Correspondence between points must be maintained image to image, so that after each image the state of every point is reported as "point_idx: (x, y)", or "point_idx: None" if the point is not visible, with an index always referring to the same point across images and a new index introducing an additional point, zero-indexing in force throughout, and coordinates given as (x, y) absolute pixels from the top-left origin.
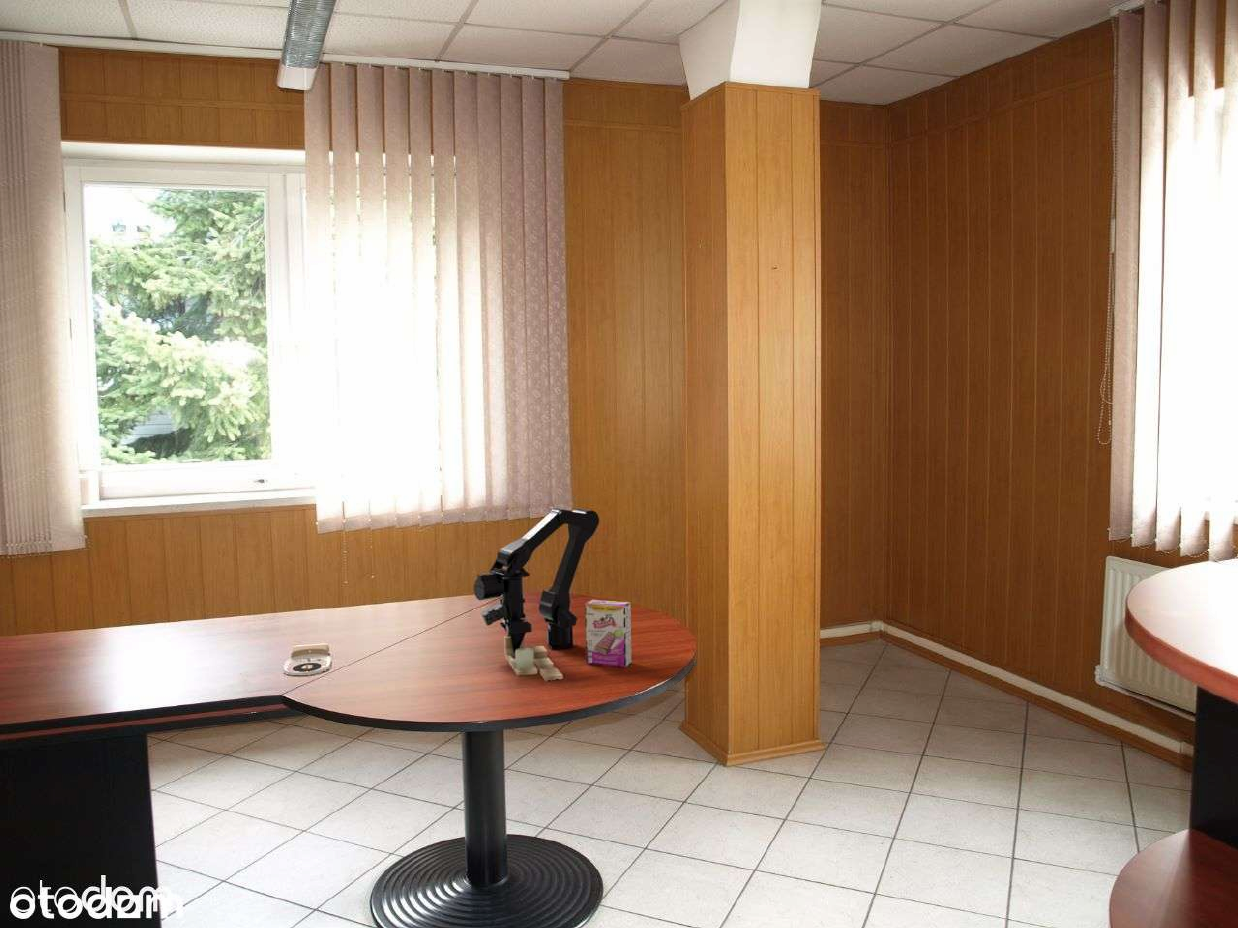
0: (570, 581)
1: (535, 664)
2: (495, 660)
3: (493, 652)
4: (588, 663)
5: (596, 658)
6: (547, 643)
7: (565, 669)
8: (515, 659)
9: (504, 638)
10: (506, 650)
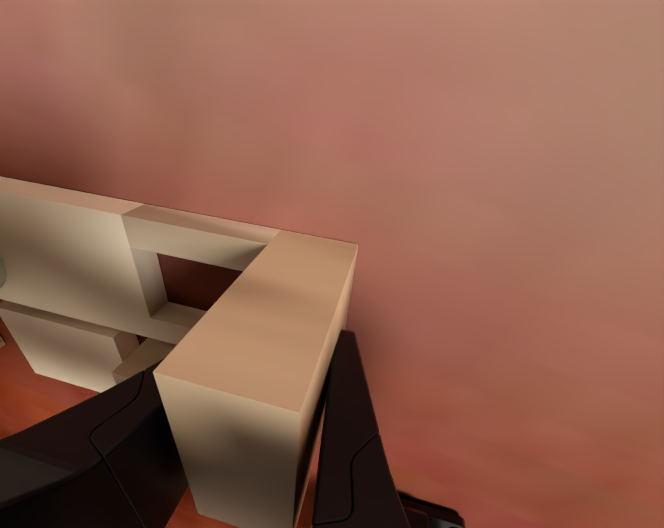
0: None
1: (34, 312)
2: (246, 117)
3: (548, 193)
4: None
5: None
6: (407, 512)
7: (36, 376)
8: (118, 256)
9: (234, 369)
10: (251, 270)
